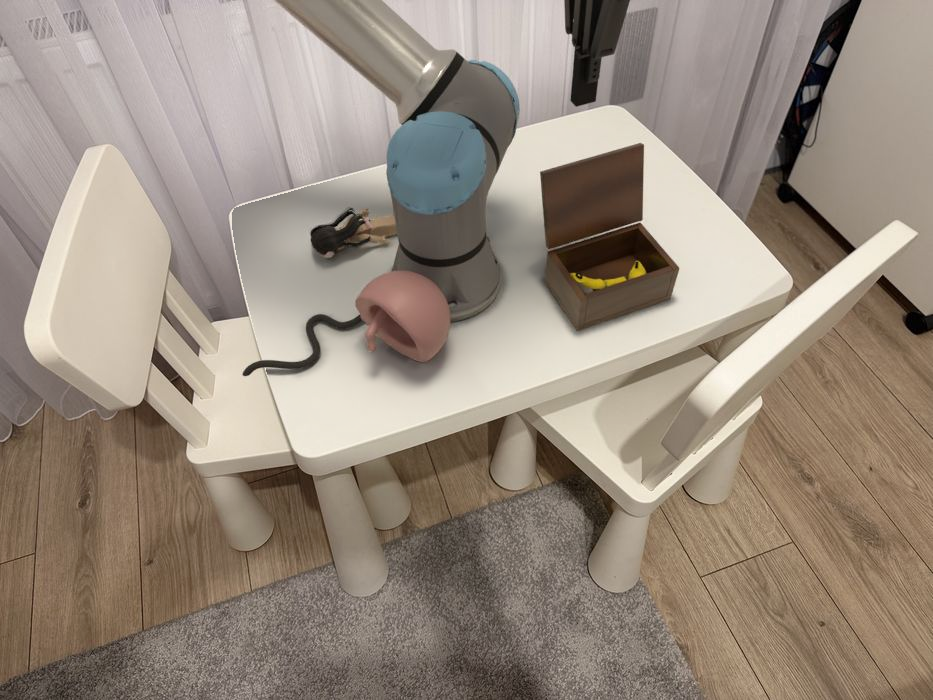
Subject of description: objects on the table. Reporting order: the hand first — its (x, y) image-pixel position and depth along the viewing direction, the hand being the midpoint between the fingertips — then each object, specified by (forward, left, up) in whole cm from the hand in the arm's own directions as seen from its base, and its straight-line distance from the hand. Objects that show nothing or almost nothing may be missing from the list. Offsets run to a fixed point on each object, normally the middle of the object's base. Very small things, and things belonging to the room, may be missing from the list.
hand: (583, 100), depth 83 cm
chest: (-6, -10, -22) cm, 25 cm away
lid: (-3, -5, -11) cm, 12 cm away
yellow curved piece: (-7, -10, -22) cm, 25 cm away
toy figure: (-18, +26, -23) cm, 38 cm away
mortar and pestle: (-25, +4, -14) cm, 29 cm away
